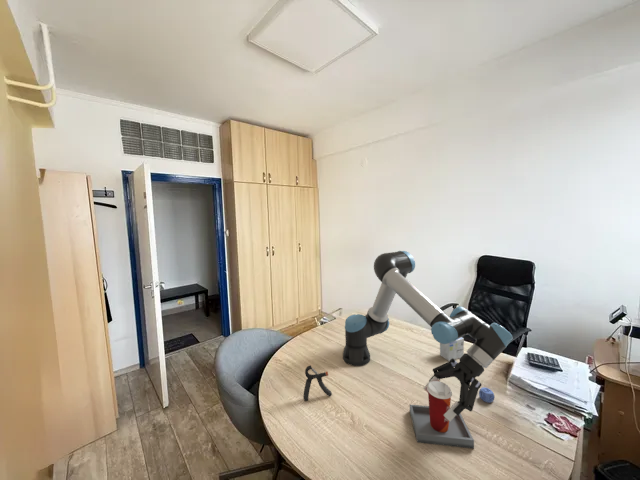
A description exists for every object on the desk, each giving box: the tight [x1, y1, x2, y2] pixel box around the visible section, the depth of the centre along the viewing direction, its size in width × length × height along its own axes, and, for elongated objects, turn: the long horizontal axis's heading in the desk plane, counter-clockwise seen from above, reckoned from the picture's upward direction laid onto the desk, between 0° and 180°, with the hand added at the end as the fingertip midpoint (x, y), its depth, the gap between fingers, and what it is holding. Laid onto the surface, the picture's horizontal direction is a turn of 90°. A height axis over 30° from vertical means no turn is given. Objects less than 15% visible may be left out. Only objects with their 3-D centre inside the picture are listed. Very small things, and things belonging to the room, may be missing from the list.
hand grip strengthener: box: [303, 365, 333, 402], centre depth 109 cm, size 2×12×15 cm, turn 99°
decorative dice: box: [478, 386, 495, 404], centre depth 105 cm, size 4×4×4 cm
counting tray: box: [409, 404, 475, 450], centre depth 92 cm, size 18×14×3 cm
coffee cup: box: [427, 380, 453, 433], centre depth 91 cm, size 8×8×15 cm
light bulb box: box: [439, 337, 465, 362], centre depth 138 cm, size 11×7×11 cm, turn 108°
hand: (435, 403), depth 90 cm, fingers open, 13 cm apart
